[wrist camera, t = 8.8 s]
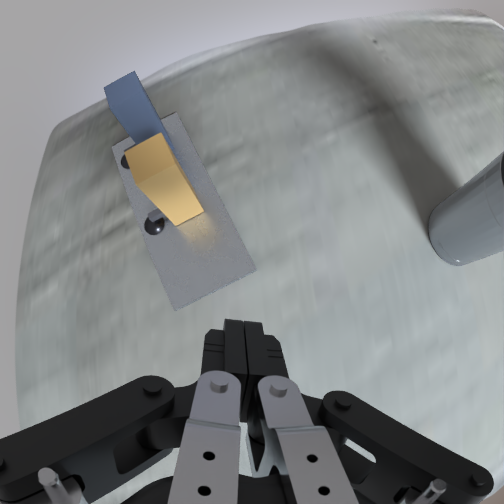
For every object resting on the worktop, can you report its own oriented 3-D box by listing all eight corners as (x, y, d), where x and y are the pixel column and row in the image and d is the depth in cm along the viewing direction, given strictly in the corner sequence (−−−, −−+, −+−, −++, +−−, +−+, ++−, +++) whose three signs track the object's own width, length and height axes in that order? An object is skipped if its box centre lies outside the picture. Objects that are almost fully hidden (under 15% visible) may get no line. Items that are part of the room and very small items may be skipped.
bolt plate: (114, 150, 44) (111, 146, 43) (178, 115, 45) (176, 111, 44) (176, 310, 39) (173, 310, 38) (256, 270, 39) (256, 269, 38)
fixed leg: (126, 149, 43) (85, 98, 30) (165, 128, 43) (134, 70, 31) (134, 170, 42) (91, 120, 30) (174, 148, 43) (143, 91, 30)
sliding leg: (148, 208, 41) (103, 164, 28) (192, 185, 41) (161, 132, 28) (159, 234, 40) (113, 197, 27) (204, 211, 40) (175, 163, 27)
